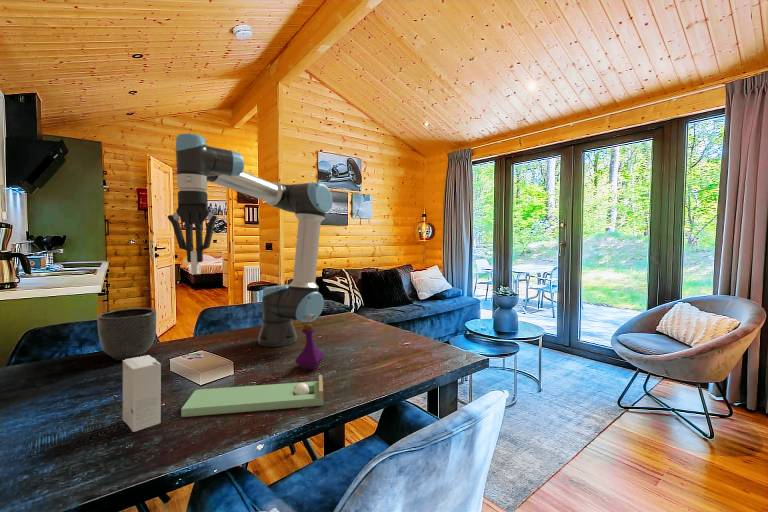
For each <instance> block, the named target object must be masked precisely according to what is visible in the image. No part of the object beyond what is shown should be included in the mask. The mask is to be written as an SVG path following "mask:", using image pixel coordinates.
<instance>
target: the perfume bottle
mask: <svg viewBox="0 0 768 512" xmlns="http://www.w3.org/2000/svg"><path fill="white" fill-rule="evenodd" d="M314 315H315V314H306V319H307V321H308V322H307V323H304V324H302V325H303V328H302V330H301V332H302V333H303V334H304V335H305V340H306V342H305V347H304V348H303V349H302V351H301V352H300V353H299V355H298V356H297V358H296V359H295V363H296V364H297V365H298V366H299V367H300V368H301V369H302V370H308V371H314V370H315V369H316V368H318V367H319V366H320V364H321V363H322V360H323V359H324V357H325V354H324V352H322V351H321V350H320V348H318V346H316V344H315V341H314V339H313V333H314V332H315V328H313V324H312V323H310V322H309V320H310V319H311V318H312V319H313V318H314Z"/></svg>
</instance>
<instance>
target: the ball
mask: <svg viewBox="0 0 768 512" xmlns="http://www.w3.org/2000/svg"><path fill="white" fill-rule="evenodd" d="M299 383H300V382H299ZM306 394H310V393H309V387H308V385H307V384H305V383H300V384H298V385H297V386H296V387H295V389H294V395H306Z"/></svg>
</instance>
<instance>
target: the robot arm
mask: <svg viewBox="0 0 768 512" xmlns="http://www.w3.org/2000/svg"><path fill="white" fill-rule="evenodd" d="M174 151H175V159H176V160H175V161H176V163H175V164H176V186H177V187H176V188H177V189H178V191H177V208H176V212H173V214H170V215H167V219H168V220H169V222H170V223H171V225H172V228H173V231H174V235H175V238H176V241H177V244H178V248H179V250H184V251H186V260H187V261H186V262H187V263H190V269H191V271H190V272H191V275H199V274H201V273H200V272H201V271H200V263H202V262H203V261H204V252H203V251H205V250H207V249H209V248H210V247H211V243H212V237H213V234H214V230H215V229H214V228H215V224H216V223H217V222H218V220H219V216H218V215H215V214H213V213H212V212H211V210H210V208H209V207H208V206H209V205H208V200H209V199H208V193H207V192H206V191H207V190H208V182H210V183H212V184H216V185H218V186H221V187H224V188H227V189H230V190H232V191H235V192H239V193H240V194H243V195H246V196H250V197H253V198H255V199H258V200H262V201H264V202H265V203H266V204H267V205H268V206H270V207H273V208H277V209H279V210H283V211H285V212H289V213H293V214H294V216H295V217H296V219H297V220H298V225H297V232H296V233H297V235H296V243H295V244H296V245H295V256H294V267H293V277H292V281H291V282H290V283H289V284H281V285H272V286H267V287H264V288H263V289H262V292H261V293H262V295H261V311H262V325H261V328H260V331H259V334H258V340H257V341H258V345H260V346H262V347H267V348H268V347H269V348H270V347H271V348H272V347H273V348H274V347H275V348H276V347H277V348H278V347H284V346H289V345H292V344H295V343H296V342H297V338H298V337H297V336H298V335H297V332H296V329H295V326H294V324H293V321H298V322H307V323H310V322H313V321H315V320H316V319H318V317H319V316H320V315H321V313H322V312H323V309H324V303H325V301H324V297H323V295H322V294H321V293H320V292H319V290H320V289H319V288H320V287H319V285H317V284H318V283H316V280H317V279H316V278H317V268H318V267H317V266H318V257H319V256H318V255H319V254H318V253H319V245H320V235H321V234H320V233H321V224H322V222H323V221H324V220H325V219H326V213H328V212H330V211H331V209H332V208H333V203H334V202H333V196H332V193H331V190H330V189H329V187H328V186H327V185H326V184H324V183H322V182H306V183H295V184H294V183H293V184H287V183H286V184H284V183H280V182H277V181H274V182H271V181H270V180H269V181H268V180H266V179H264V178H261V177H259V176H256V175H253V174H252V173H248V172H247V171H244V169H245V159H244V157H243V155H242V154H241V153H240V152H237V151H233V150H231V149H224V148H219V147H214V146H210V145H207V142H206V137H204V136H202V135H200V134H195V133H179V134H178V135H177V136H176V139H175V149H174ZM180 219H181V220H182V222H184V227H185V237H184V234H183V230H182V228H181V225H180V224H181V223H180ZM206 219H207V220H208V223H207V227H206V232H205V235H204V234H203V225H204V224H203V223H204V222H205V221H206ZM193 227H194V230H195V248H194V231H193ZM203 235H204V239H203ZM306 314H315V315H314V318H313V319H312V318H311V319H310V320H309V322H308V321H307V319H306Z"/></svg>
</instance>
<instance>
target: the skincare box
mask: <svg viewBox="0 0 768 512" xmlns="http://www.w3.org/2000/svg"><path fill="white" fill-rule="evenodd" d="M121 362H122V421H123V422H124V423H125V424H126V425H127V426H128V427H129V429H130V430H131V432H133V433H134V432H138V431H141V430H144V429H147V428H150V427H153V426H156V425H159V424H161V423H162V421H161V417H162V416H161V415H162V413H161V411H162V410H161V408H162V407H161V405H162V403H161V398H162V397H161V395H162V394H161V391H162V390H161V384H162V381H161V379H162V376H161V375H162V370H161V369H162V366H161V365H162V364H161V362H159V361H158V360H157V359H156V358H155V357H152V356H151V355H149V354H147V355H146V354H144V355H143V356H140V357H135V358H130V359H125V360H122V361H121Z"/></svg>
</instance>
